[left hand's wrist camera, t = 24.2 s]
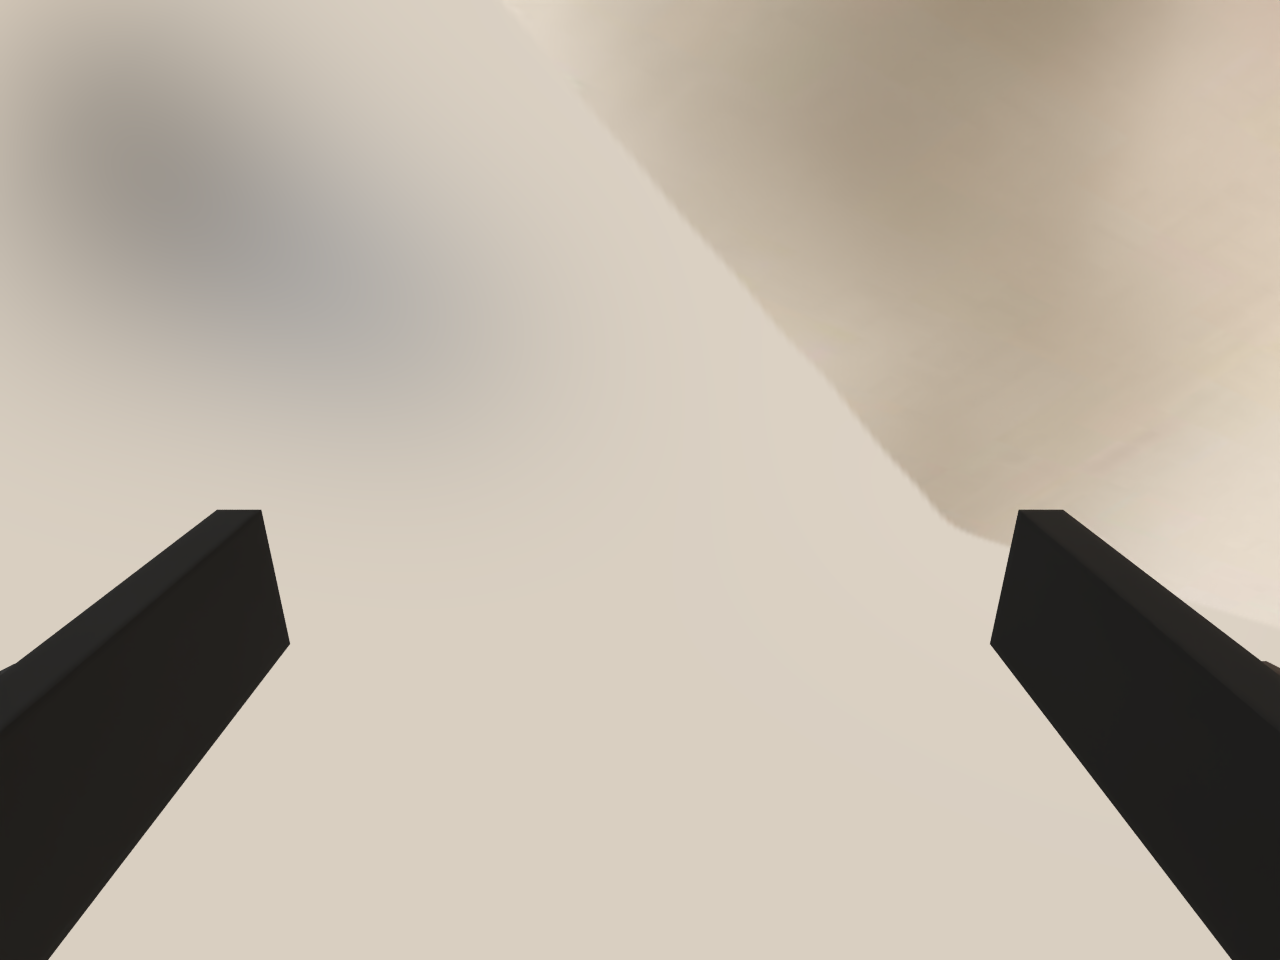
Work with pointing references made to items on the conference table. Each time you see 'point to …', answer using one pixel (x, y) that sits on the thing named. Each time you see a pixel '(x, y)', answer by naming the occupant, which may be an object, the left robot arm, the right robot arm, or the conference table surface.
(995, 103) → the conference table surface
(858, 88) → the conference table surface
